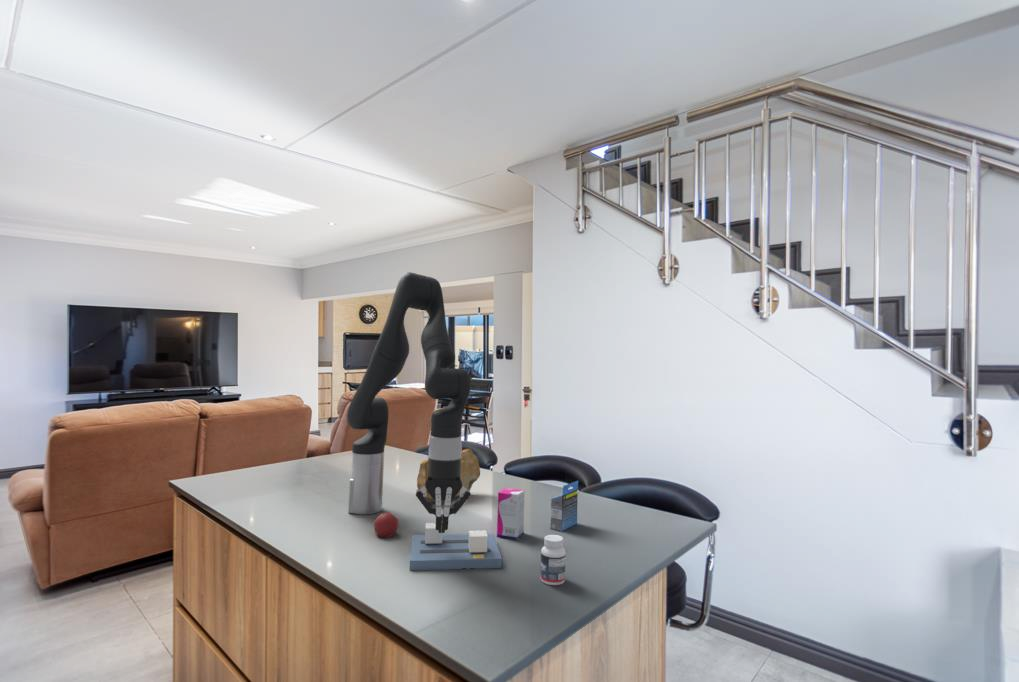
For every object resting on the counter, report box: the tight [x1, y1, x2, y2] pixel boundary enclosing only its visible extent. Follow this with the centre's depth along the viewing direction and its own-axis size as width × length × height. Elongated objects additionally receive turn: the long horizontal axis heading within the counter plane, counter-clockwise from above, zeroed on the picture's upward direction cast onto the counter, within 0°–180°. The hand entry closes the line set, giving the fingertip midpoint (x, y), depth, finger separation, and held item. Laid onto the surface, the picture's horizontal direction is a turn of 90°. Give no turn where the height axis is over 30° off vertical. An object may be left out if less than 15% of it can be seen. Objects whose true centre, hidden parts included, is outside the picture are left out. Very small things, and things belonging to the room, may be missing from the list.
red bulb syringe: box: [371, 512, 399, 538], centre depth 132 cm, size 6×6×8 cm
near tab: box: [468, 529, 488, 552], centre depth 118 cm, size 4×4×4 cm
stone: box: [416, 448, 481, 503], centre depth 172 cm, size 23×17×15 cm
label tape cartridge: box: [550, 480, 579, 532], centre depth 143 cm, size 9×4×12 cm, turn 145°
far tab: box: [424, 522, 443, 544], centre depth 123 cm, size 4×4×4 cm
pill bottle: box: [539, 534, 567, 586], centre depth 108 cm, size 5×5×9 cm
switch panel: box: [409, 533, 503, 571], centre depth 120 cm, size 20×16×2 cm
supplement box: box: [496, 487, 526, 540], centre depth 135 cm, size 6×6×12 cm
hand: (441, 531), depth 117 cm, fingers closed
